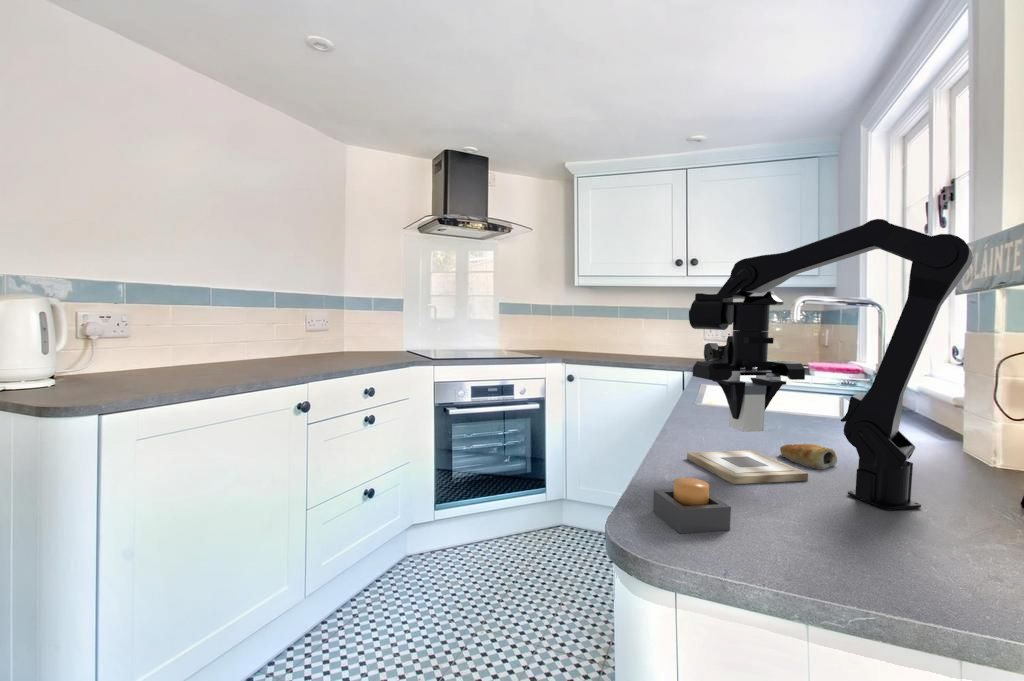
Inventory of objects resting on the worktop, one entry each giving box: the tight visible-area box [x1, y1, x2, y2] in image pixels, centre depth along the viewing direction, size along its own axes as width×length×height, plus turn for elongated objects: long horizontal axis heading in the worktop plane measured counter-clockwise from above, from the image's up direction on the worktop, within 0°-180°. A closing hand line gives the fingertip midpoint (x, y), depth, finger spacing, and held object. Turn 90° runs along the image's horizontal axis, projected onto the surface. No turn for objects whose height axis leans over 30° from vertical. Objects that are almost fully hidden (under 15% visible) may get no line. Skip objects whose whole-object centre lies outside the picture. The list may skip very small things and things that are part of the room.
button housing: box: [652, 488, 732, 534], centre depth 65 cm, size 7×7×3 cm
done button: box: [673, 477, 710, 506], centre depth 65 cm, size 4×4×2 cm
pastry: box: [779, 443, 838, 470], centre depth 94 cm, size 9×7×4 cm
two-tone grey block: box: [728, 382, 767, 433], centre depth 88 cm, size 4×4×8 cm
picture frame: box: [686, 449, 809, 485], centre depth 88 cm, size 14×14×1 cm
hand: (746, 418), depth 88 cm, fingers closed on two-tone grey block, 4 cm apart
